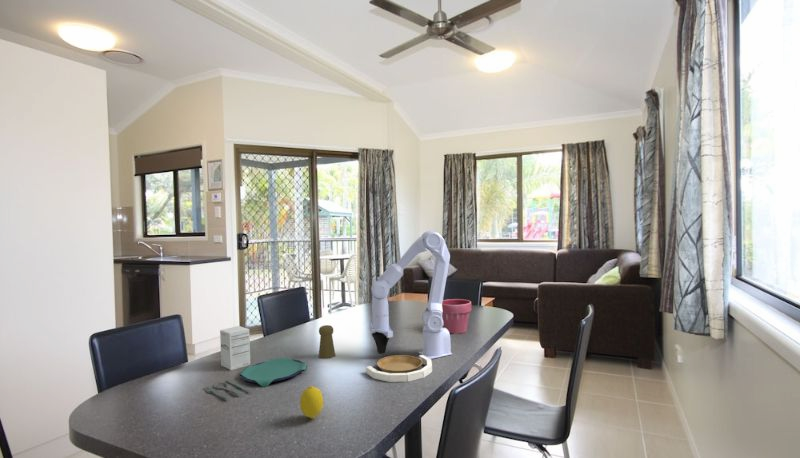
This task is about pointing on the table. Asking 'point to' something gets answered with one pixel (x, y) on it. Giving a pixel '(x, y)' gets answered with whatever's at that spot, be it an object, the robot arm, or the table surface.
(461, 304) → the plant pot
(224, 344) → the supplement box
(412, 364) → the plant saucer
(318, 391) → the lemon
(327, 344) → the cork
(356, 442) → the table surface
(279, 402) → the table surface
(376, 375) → the centring cradle
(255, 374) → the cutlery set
